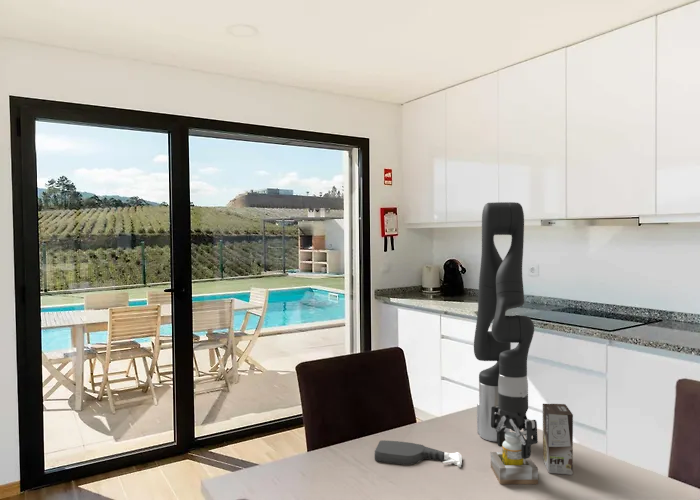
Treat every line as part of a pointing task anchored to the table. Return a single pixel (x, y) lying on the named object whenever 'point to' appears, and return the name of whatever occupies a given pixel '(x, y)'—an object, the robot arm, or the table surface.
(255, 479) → the table surface
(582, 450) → the table surface
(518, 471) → the post socket
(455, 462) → the spray bottle
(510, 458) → the supplement bottle
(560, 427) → the coffee box
